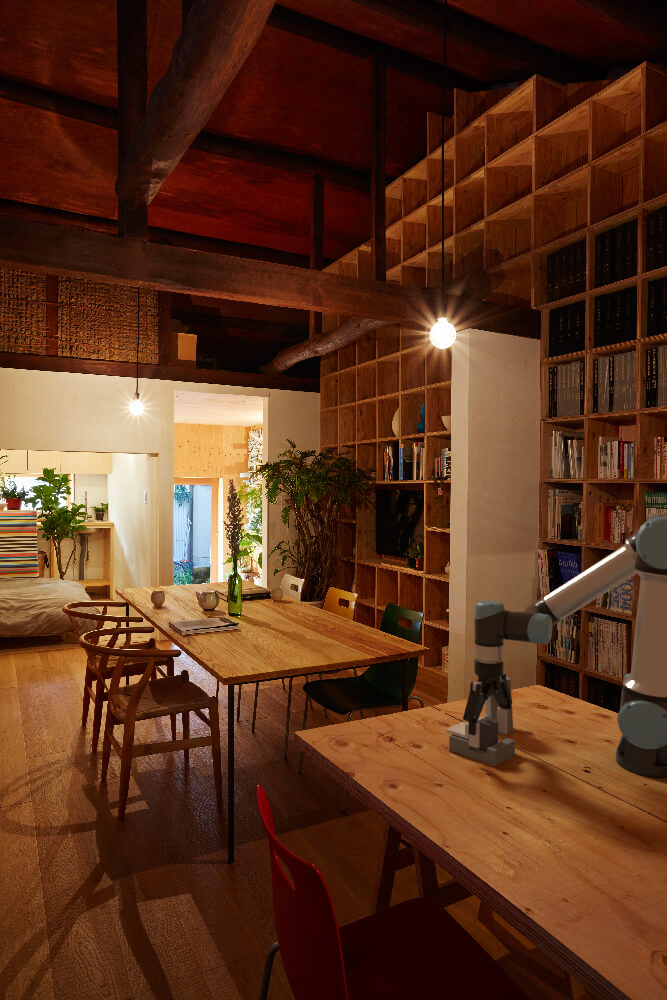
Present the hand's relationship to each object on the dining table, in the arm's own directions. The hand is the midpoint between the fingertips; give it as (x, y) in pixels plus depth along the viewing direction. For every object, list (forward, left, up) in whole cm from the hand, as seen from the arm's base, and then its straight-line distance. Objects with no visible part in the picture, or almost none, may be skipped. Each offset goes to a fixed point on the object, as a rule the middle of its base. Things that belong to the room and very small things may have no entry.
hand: (488, 739), depth 171 cm
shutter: (+7, 0, 0) cm, 7 cm away
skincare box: (+8, -18, -4) cm, 20 cm away
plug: (0, 0, -3) cm, 3 cm away
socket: (+2, 0, -4) cm, 5 cm away
